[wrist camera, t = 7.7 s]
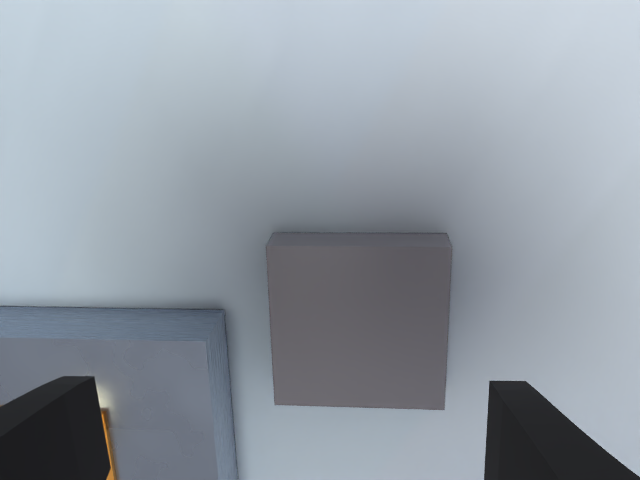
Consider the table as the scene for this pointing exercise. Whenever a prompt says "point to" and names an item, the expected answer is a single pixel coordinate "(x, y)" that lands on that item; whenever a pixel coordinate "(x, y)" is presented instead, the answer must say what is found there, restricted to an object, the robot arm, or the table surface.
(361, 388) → the gray square block
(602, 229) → the table surface
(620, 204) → the table surface
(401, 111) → the table surface
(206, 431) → the plate
